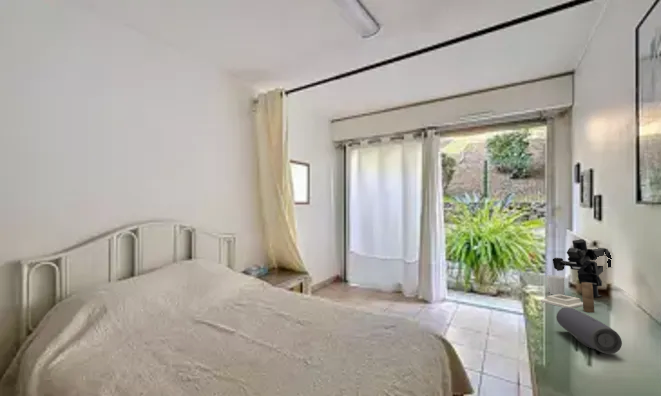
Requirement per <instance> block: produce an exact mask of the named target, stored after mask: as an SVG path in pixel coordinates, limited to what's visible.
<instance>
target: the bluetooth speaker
mask: <svg viewBox="0 0 661 396" xmlns="http://www.w3.org/2000/svg"><path fill="white" fill-rule="evenodd" d="M556 321H557V323H558V324H559V325H560V326H561V327H562V328H563V329H564V330H565V331H567V332H568V333H569V334H570V335H571V336H572V337H574V338H575V340H576V341H578V342H579V343H580V344H582V345H584V346H585V347H587V348H588V347H589V348H588V349H590V348H592V349H591V350H594V349H596V350H595V351H598V352H600V353H602V354H605V355H613V354H616V353H617V352H619V351H620V349H621V348H622V345H623V341H622V337H621V335H620V334H619V333H618V332H617V331H615V330H614V329H612V328H611V327H610V326H608V325H607V324H605V323H603V322H601V321H600V320H598V319H596V318H594V317H592V316H590V315H589V314H586V313H584V312H582V311H581V310H578V309H576V308H568V307H566V308H564V307H561V308H560V309H559V310H558V311H557V313H556Z"/></svg>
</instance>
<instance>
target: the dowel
mask: <svg viewBox="0 0 661 396" xmlns="http://www.w3.org/2000/svg"><path fill="white" fill-rule="evenodd" d="M580 286H581V297H582V298H581V299H582V302H583V306H582V308H583V309H582V310H583V312H585V313H591V314H592V313H595V301H594V300H595V298H594V297H593V286H592V283H587V282H582V283H581V284H580Z"/></svg>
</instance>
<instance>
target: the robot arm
mask: <svg viewBox="0 0 661 396" xmlns="http://www.w3.org/2000/svg"><path fill="white" fill-rule="evenodd" d="M571 242H572V246H573V247H569V248H568V249H567V252H566V254H567V256H568V258H567V260H564V258H562V257H554V258H552V264H553V268H554V269H555V270H556V271H557V272H560V271H564V270H565V266H566V267H569V268H570V269H571V270H575V271H576V272H577V278H578V283H579V284H580V285H581V283H582V282H587V283H592V286H593V299H596V298H599V297H602V296H603V295H601V294H599V289H598V287H602V286H603V281H602V279H601V277H600V276H599V275H601V274H602V273H603V272H604V271H603V266H597V261H596V259H597V257H599V256H607V257H608V258H610V259H612V258H611V255H610V253H611V252H610V251H609V250H608V248H605V247H604V248H603V247H597V248H598V249H596V248H593V249H592V248H588V246H587V242H586V239H583V238H580V239H574V240H572V241H571ZM604 252H605V254H606V255H604ZM610 259H608V261H607V263H608V268H612V267H611V260H610ZM608 268H607V269H608Z"/></svg>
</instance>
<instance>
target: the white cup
mask: <svg viewBox="0 0 661 396" xmlns="http://www.w3.org/2000/svg"><path fill="white" fill-rule="evenodd" d="M547 284H548V285H547V286H548V291H549V292H550V293H551V294H555V295H556V294H562V295H565V285H566V284H565V277H564V276H561V275H547ZM550 293H549V294H550ZM551 294H550V295H551Z"/></svg>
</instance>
